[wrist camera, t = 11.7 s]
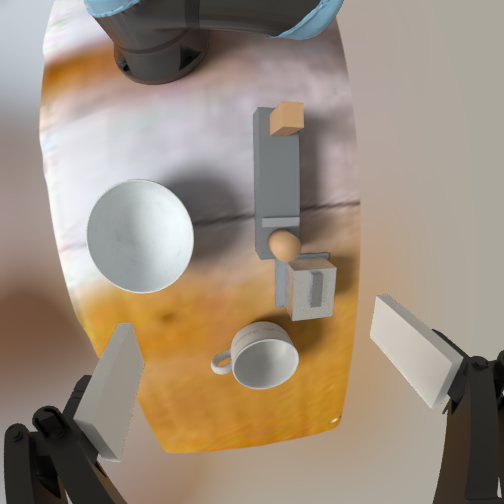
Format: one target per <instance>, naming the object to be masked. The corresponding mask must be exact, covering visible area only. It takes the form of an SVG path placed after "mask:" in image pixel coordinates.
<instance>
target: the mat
mask: <svg viewBox="0 0 504 504" xmlns="http://www.w3.org/2000/svg"><path fill="white" fill-rule="evenodd" d="M320 256H322V257H323V258H325V259H326V260H327V261H329V253H328V252H326V253H310V254H299V257H298V258H304V257H320ZM283 287H284V262H282V261H280V260H278V259H276V299H275V307H284V305H283Z"/></svg>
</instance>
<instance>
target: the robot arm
mask: <svg viewBox="0 0 504 504" xmlns="http://www.w3.org/2000/svg"><path fill="white" fill-rule="evenodd" d="M83 1H84V3H85V5H86V7H87V11H88V13H89V14H91V15H92V16H93V17H94V19H95V20H96V21H97V22H98V23H99V25H100V26H101V27H102V28H103V30H104V31H105V32H106V33H107V34H108V36H109V37H110V38H111V39H112V41H113V42H114V58H115V61H116V64H117V66H118V67H119V69H120V70H121V71H122V72H123V73H124V75H125V76H127V77H128V78H129V79H131V80H133V81H135V82H137V83H141V84H146V85H158V84H164V83H168V82H172V81H175V80H177V79H179V78H181V77H183V76H185V75H186V74H188V73H189V72H191V71H192V70H193V69H194V68H196V67H197V66H198V64H199V63H200V62H201V61H202V59H203V58H204V56H205V54H206V52H207V49H208V45H209V31H208V30H217V31H233V32H244V33H253V34H261V35H267V36H268V37H271V38H288V39H295V40H306V39H310V38H313V37H315V36H317V35H319V34H320V33H321V32H323V31H324V30H325V29H326V28H327V27H328V26H329V24H330V23H331V22H332V21H333V19H334V18H335V16H336V15H337V13H338V11H339V10H340V8H341V6H342V3H343V1H344V0H83ZM370 337H371V338H372V340H373V341H374V342H375V343H376V344H377V345H378V346H379V347H380V349H381V350H382V351H383V352H384V353H385V355H386V356H387V357H388V358H389V359H390V360H391V361H392V363H393V364H394V365H395V366H396V367H397V369H398V370H399V371H400V372H401V373H402V374H403V376H404V377H405V378H406V379H407V380H408V382H409V383H410V384H411V385H412V386H413V388H414V389H415V390H416V391H417V393H418V394H419V395H420V396H421V397H422V399H423V400H424V401H425V402H426V403H427V405H428V406H429V407H430V408H431V409H432V408H434V407H435V406H437V405H439V404H441V403H442V402H443V401H444V399H445V397H446V395H447V394H448V395H449V396H450V397H451V398H450V399H449V401H448V403H447V405H446V407H445V409H444V411H443V414H445V412H446V410H447V409H448V413H447V427H446V436H445V444H444V452H443V458H442V464H441V469H440V474H439V479H438V484H437V488H436V493H435V497H434V500H433V504H504V395H503V393H502V392H503V391H504V350H503V351H501V352H500V353H499V355H498V357H497V360H494V361H488V360H486V359H485V358H483V357H480V356H473V357H471V358H470V357H469V356H468V355H467V354H466V353H465V352H463V351H462V350H461V349H460V348H459V347H458V346H456V345H455V344H454V343H453V342H452V341H451V340H449V339H448V338H447V337H446V336H445V335H443V334H442V333H441V332H438V331H436V330H434V329H432V330H431V329H430V328H429V327H428V326H426V325H425V324H424V323H423V322H421V321H420V320H419V319H418V318H417V317H415V316H414V315H413V314H412V313H411V312H409V311H408V310H407V309H406V308H405V307H403V306H402V305H401V304H400V303H398V302H397V301H396V300H395V299H393V298H392V297H391V296H390V295H388V294H383V295H378V296H376V303H375V309H374V316H373V321H372V327H371V332H370ZM144 366H145V363H144V360H143V357H142V354H141V351H140V348H139V345H138V341H137V338H136V335H135V331H134V328H133V324H132V323H119V324H118V326H117V328H116V329H115V331H114V333H113V335H112V337H111V339H110V341H109V343H108V345H107V347H106V349H105V351H104V353H103V355H102V357H101V359H100V361H99V363H98V365H97V367H96V369H95V371H94V373H93V375H84V376H83V377H82V378H81V379H80V380H79V381H78V382H77V384H76V386H75V388H74V392H72V394H71V396H70V397H71V398H69V400H68V402H67V404H66V406H65V409H64V411H63V413H62V414H61V412H60V411H59V410H58V408H56V407H54V406H45V407H42V408H40V409H38V410H37V411H36V412H35V413H34V415H33V418H32V423H33V425H34V426H35V428H36V429H37V430H38V432H29V430H28V429H27V428H26V427H25V425H23V424H19V423H17V424H13V425H11V426H10V427H9V428H8V429H7V430H6V433H5V439H4V479H5V493H6V502H7V504H68V500H67V497H66V493H65V490H66V492H67V494H68V496H69V498H70V500H71V501H72V503H73V504H127V503H126V501H125V500H124V499H123V497H122V496H121V495H120V493H119V492H118V490H117V489H116V488H115V486H114V485H113V483H112V482H111V481H110V479H109V478H108V476H107V474H106V473H105V472H104V470H103V468H102V467H101V465H100V463H99V462H98V461H97V456H98V453H99V454H100V455H101V457H102V458H103V459H104V460H109V461H115V462H121V460H122V455H123V450H124V445H125V441H126V436H127V432H128V427H129V423H130V419H131V415H132V410H133V406H134V402H135V399H136V395H137V391H138V387H139V384H140V380H141V376H142V373H143V369H144ZM498 478H499V479H500V487H501V495H502V498H500V497H498V496H497V490H498Z"/></svg>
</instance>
